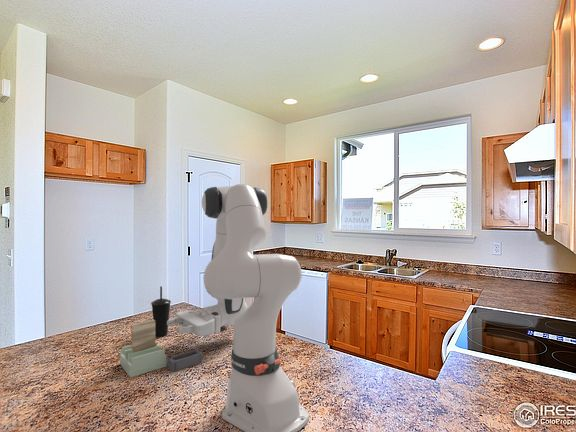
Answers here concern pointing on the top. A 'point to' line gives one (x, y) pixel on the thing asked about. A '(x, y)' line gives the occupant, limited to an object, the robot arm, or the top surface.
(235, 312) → the robot arm
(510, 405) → the top surface
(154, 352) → the dish rack
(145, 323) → the maple board
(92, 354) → the top surface
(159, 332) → the drinking cup
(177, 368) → the board stand
